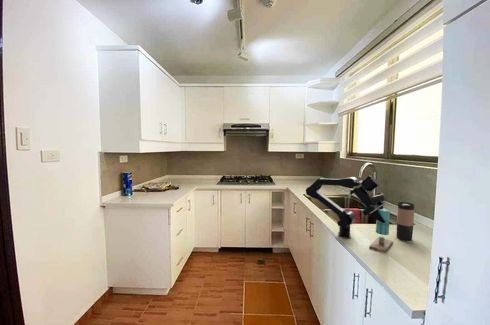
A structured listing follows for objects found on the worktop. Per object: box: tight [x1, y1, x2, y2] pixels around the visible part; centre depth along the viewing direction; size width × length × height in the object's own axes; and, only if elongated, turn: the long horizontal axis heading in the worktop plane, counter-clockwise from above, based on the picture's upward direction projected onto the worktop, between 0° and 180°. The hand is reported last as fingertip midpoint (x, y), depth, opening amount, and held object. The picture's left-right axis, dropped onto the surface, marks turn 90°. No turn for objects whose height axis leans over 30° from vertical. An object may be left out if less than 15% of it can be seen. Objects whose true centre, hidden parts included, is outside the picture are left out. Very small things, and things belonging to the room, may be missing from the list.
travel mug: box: [396, 201, 415, 242], centre depth 129 cm, size 8×8×20 cm
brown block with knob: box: [369, 236, 394, 253], centre depth 121 cm, size 7×16×4 cm, turn 136°
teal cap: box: [375, 208, 391, 236], centre depth 120 cm, size 6×6×12 cm
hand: (385, 221), depth 119 cm, fingers closed on teal cap, 6 cm apart
